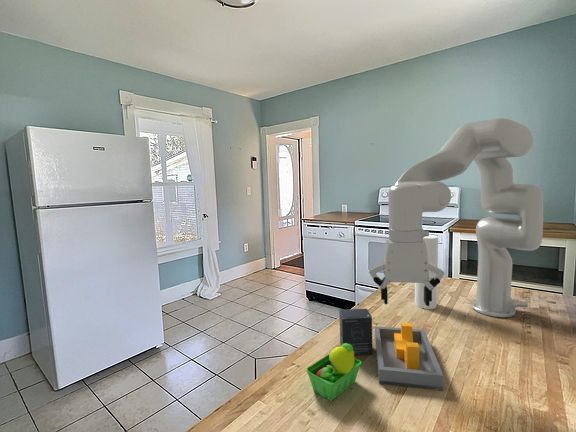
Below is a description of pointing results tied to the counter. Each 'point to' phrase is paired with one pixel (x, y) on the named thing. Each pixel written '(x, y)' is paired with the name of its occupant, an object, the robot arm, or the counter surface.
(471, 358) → the counter surface
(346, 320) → the box
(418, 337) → the tray
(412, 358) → the orange toy block
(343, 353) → the fruit basket
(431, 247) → the cylindrical container
